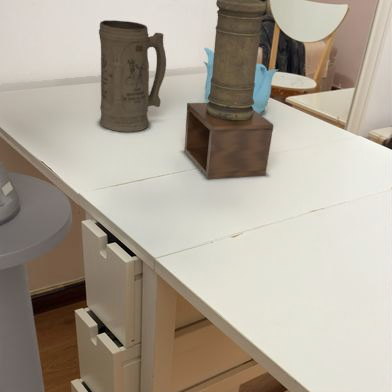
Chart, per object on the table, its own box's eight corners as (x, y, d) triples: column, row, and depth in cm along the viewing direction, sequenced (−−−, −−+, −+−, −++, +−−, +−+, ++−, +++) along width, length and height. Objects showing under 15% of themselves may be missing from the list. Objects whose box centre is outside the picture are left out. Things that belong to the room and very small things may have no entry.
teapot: (199, 117, 128) (203, 60, 120) (200, 96, 142) (204, 44, 134) (270, 123, 128) (279, 67, 120) (264, 101, 142) (272, 50, 134)
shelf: (207, 179, 99) (212, 126, 93) (184, 151, 109) (187, 103, 103) (265, 175, 103) (273, 124, 97) (237, 149, 113) (243, 101, 107)
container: (253, 123, 96) (270, 6, 85) (204, 118, 96) (214, 1, 85) (252, 109, 103) (267, -1, 92) (206, 104, 103) (216, -6, 92)
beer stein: (116, 135, 113) (120, 27, 101) (87, 121, 119) (88, 17, 107) (170, 129, 122) (180, 29, 110) (142, 116, 128) (148, 20, 116)
